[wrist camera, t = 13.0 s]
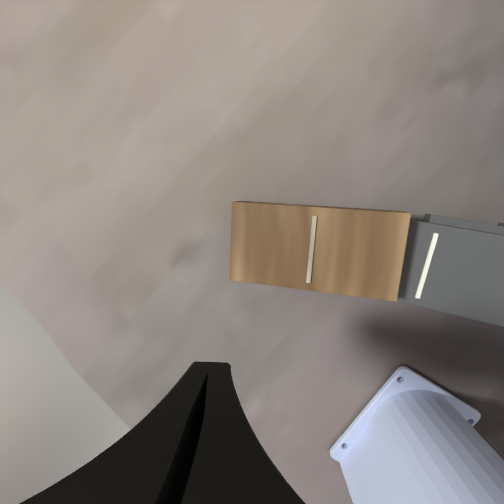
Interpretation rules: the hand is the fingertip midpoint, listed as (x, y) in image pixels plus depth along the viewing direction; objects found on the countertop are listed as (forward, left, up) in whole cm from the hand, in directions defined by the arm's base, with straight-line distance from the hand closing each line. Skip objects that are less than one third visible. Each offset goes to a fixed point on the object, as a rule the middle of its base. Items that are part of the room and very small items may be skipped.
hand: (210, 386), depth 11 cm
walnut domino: (+3, +2, -10) cm, 10 cm away
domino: (+7, -5, -10) cm, 13 cm away
